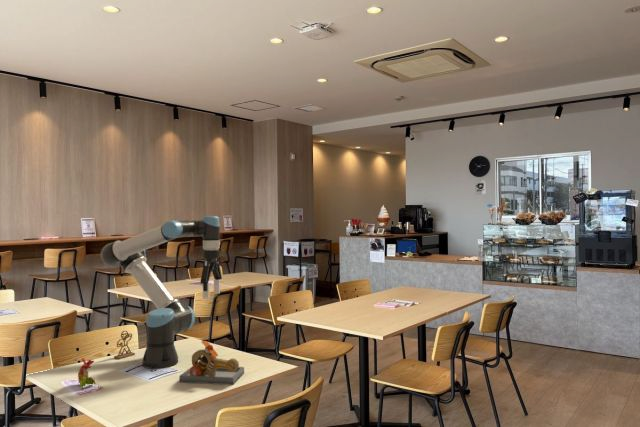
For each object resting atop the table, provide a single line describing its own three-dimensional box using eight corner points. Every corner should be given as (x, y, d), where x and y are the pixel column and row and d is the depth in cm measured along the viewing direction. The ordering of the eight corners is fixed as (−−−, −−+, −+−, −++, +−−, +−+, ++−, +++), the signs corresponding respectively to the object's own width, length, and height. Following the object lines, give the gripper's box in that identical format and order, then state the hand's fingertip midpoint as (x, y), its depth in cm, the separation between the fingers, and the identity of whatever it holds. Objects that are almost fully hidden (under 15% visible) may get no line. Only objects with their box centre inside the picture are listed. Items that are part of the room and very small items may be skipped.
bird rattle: (72, 392, 186) (82, 387, 181) (67, 363, 189) (77, 358, 184) (88, 388, 191) (99, 383, 186) (83, 360, 194) (93, 354, 189)
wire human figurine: (118, 359, 222) (118, 333, 222) (113, 358, 224) (113, 332, 224) (135, 354, 230) (135, 329, 230) (129, 353, 232) (129, 328, 232)
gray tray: (179, 382, 191) (179, 375, 191) (193, 371, 205) (193, 365, 205) (233, 384, 188) (233, 378, 188) (244, 373, 202) (244, 367, 202)
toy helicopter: (198, 371, 200) (198, 338, 201) (243, 377, 193) (243, 342, 193) (186, 378, 193) (186, 343, 193) (232, 384, 186) (232, 347, 186)
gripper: (209, 251, 210) (209, 300, 210) (228, 247, 235) (228, 291, 235) (192, 251, 212) (192, 300, 211) (213, 247, 236) (213, 291, 236)
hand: (211, 295), depth 223 cm, fingers open, 13 cm apart
